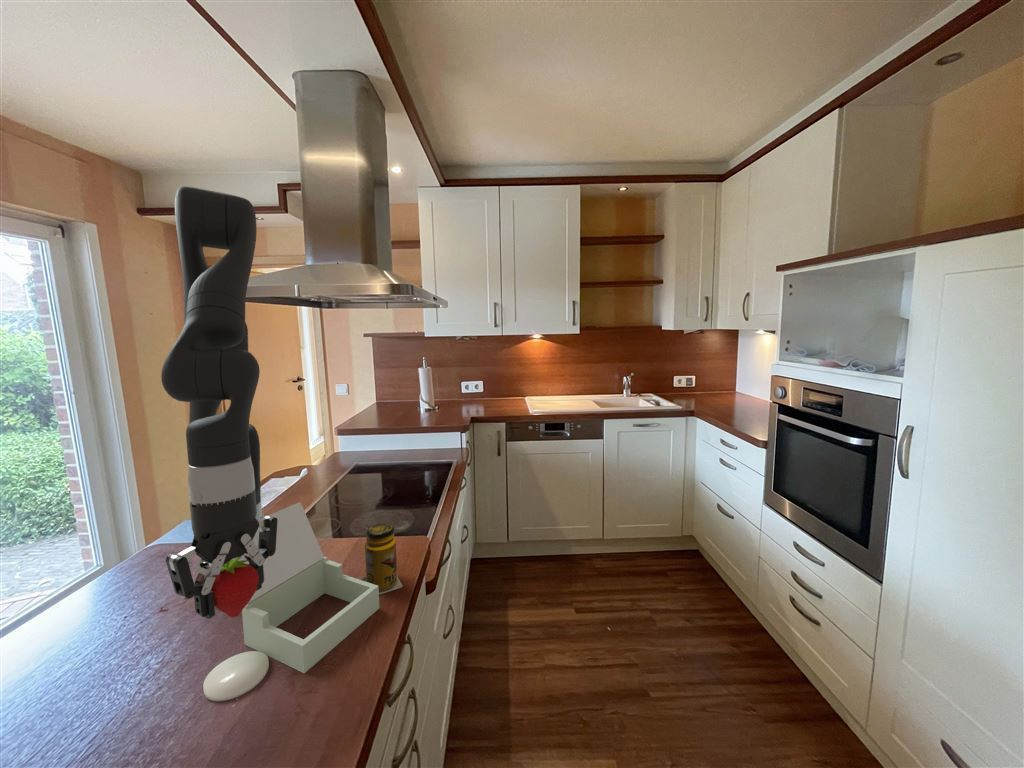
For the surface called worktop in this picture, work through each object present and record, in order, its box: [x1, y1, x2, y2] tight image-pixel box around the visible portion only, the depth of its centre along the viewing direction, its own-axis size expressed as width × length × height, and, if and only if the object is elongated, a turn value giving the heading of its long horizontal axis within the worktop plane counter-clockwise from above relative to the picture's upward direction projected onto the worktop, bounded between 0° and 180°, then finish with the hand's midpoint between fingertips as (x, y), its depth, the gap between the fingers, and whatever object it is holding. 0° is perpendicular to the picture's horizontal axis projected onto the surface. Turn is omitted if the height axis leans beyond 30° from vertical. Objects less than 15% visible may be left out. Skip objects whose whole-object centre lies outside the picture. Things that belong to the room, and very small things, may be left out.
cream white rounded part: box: [202, 650, 270, 702], centre depth 59 cm, size 8×8×1 cm
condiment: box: [358, 523, 404, 595], centre depth 81 cm, size 7×8×12 cm
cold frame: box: [232, 501, 380, 674], centre depth 70 cm, size 20×16×18 cm
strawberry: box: [211, 556, 259, 618], centre depth 58 cm, size 6×8×10 cm
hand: (232, 601), depth 58 cm, fingers closed on strawberry, 6 cm apart
